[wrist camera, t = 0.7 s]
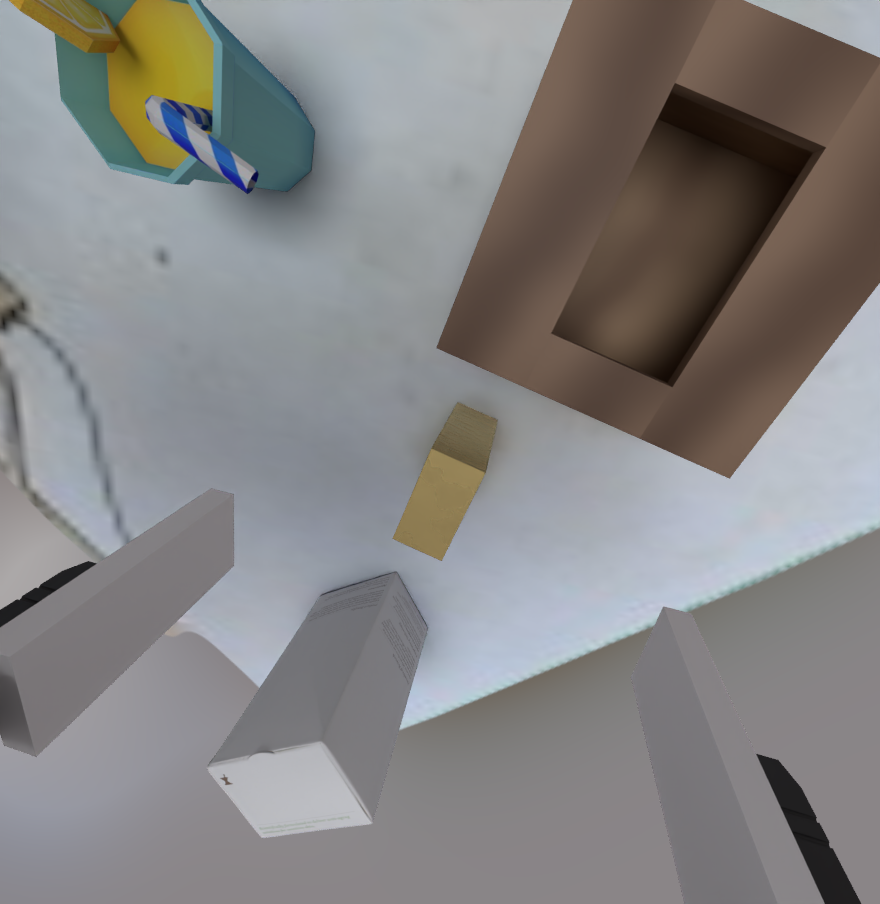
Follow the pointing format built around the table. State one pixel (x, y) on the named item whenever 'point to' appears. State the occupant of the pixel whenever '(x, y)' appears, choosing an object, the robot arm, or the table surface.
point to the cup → (174, 93)
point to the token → (447, 482)
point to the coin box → (680, 222)
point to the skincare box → (326, 714)
